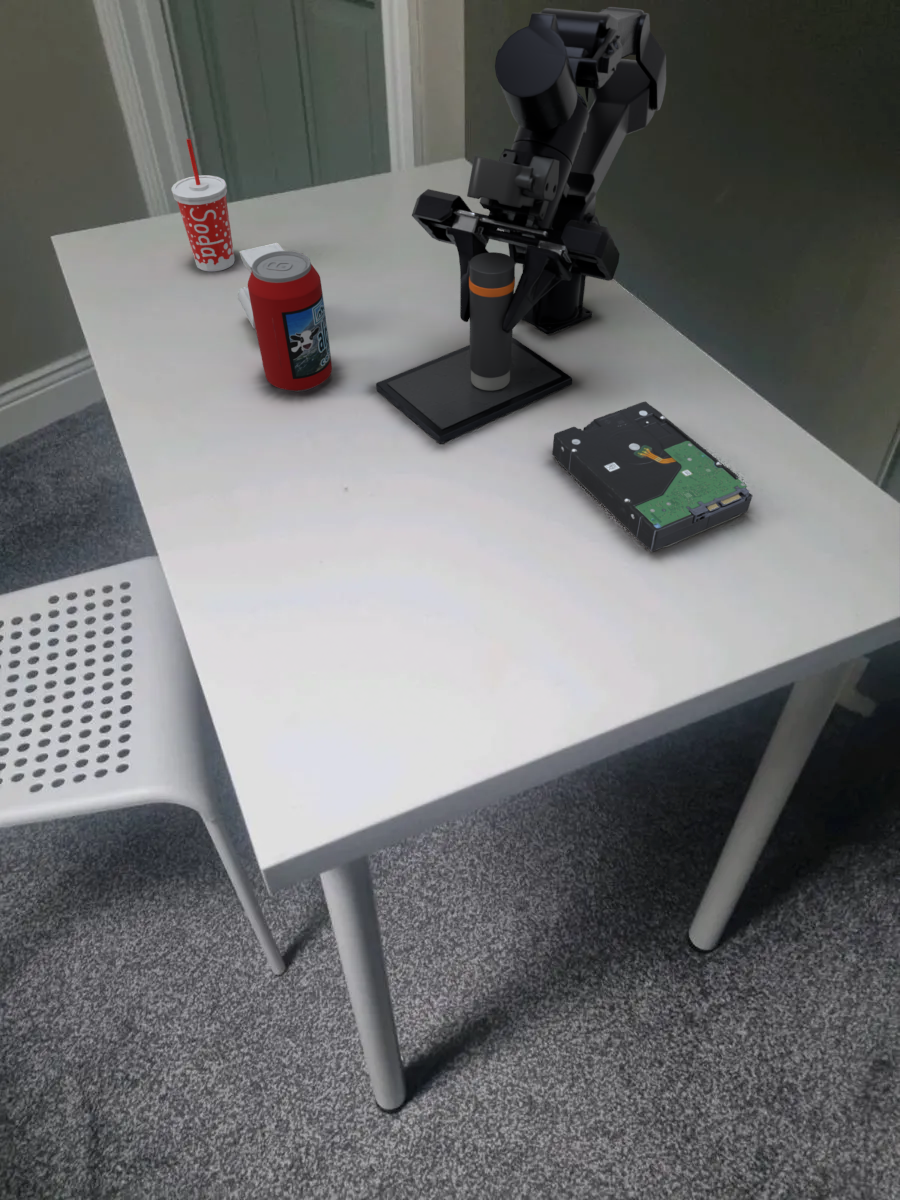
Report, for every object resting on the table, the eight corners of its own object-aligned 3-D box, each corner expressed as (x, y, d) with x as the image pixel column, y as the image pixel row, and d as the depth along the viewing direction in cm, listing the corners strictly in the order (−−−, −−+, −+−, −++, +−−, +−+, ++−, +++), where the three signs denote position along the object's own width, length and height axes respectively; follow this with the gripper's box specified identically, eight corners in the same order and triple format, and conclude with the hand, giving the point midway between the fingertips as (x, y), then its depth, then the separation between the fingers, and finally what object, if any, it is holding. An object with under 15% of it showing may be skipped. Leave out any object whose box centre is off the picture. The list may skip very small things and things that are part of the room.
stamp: (321, 340, 95) (310, 264, 89) (260, 354, 93) (245, 278, 87) (296, 301, 101) (284, 228, 94) (238, 314, 99) (223, 240, 93)
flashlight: (503, 365, 89) (506, 248, 80) (517, 387, 86) (522, 269, 78) (464, 372, 88) (463, 255, 80) (477, 395, 86) (477, 277, 77)
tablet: (503, 337, 95) (503, 330, 94) (572, 384, 88) (573, 376, 88) (376, 390, 88) (375, 382, 88) (440, 444, 82) (440, 436, 82)
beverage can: (322, 400, 87) (305, 285, 79) (256, 393, 88) (232, 279, 80) (341, 362, 92) (327, 249, 83) (279, 356, 93) (258, 244, 84)
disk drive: (548, 459, 81) (652, 556, 72) (550, 434, 79) (657, 530, 70) (640, 424, 84) (750, 512, 75) (644, 398, 82) (758, 486, 73)
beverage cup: (181, 272, 106) (150, 148, 96) (202, 248, 110) (174, 127, 100) (229, 276, 105) (203, 151, 95) (248, 252, 109) (225, 130, 99)
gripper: (417, 92, 76) (358, 271, 77) (623, 127, 70) (555, 322, 71) (462, 156, 86) (409, 313, 88) (645, 192, 80) (585, 360, 82)
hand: (484, 325), depth 82 cm, fingers closed on flashlight, 4 cm apart
